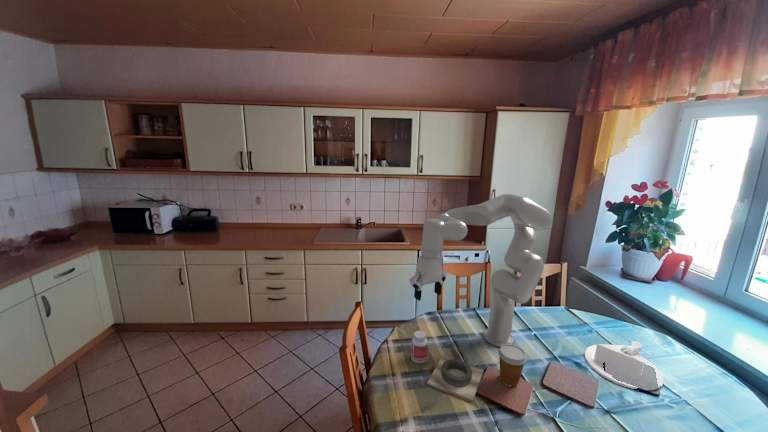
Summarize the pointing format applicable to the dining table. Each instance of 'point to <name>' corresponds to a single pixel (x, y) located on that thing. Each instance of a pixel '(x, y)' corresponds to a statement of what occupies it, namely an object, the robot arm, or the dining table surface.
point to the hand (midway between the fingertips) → (427, 296)
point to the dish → (619, 361)
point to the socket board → (456, 378)
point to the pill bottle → (419, 347)
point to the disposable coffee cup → (511, 363)
